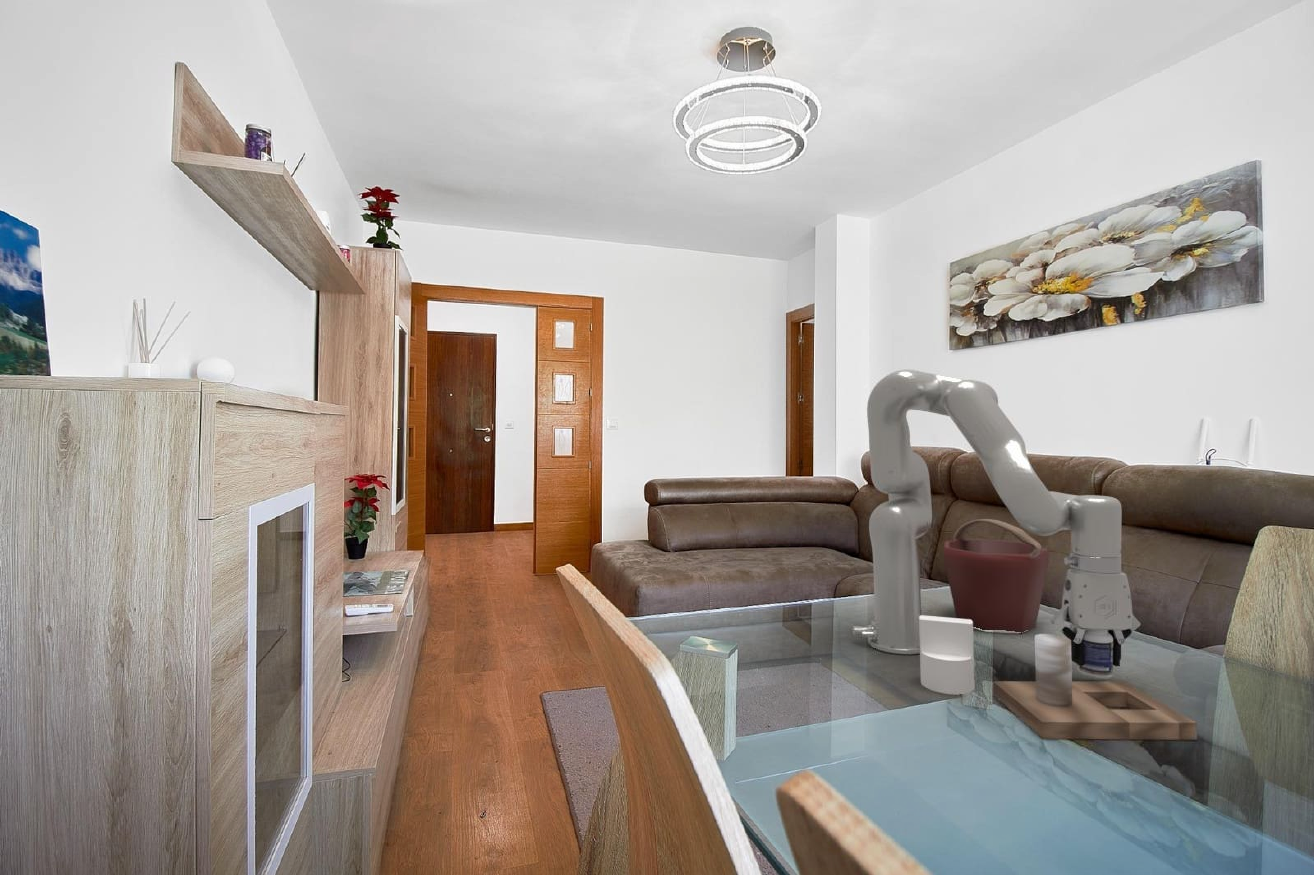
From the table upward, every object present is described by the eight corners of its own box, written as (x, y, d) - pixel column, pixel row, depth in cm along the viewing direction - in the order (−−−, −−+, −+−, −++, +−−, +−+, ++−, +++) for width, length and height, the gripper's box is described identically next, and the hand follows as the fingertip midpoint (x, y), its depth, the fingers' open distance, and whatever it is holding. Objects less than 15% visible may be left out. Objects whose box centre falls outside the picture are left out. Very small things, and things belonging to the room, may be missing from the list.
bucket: (1070, 639, 141) (1067, 526, 141) (970, 640, 141) (967, 528, 141) (1010, 609, 165) (1008, 513, 165) (925, 611, 166) (922, 514, 166)
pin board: (1042, 738, 96) (1040, 655, 96) (993, 695, 112) (991, 624, 112) (1196, 739, 94) (1194, 655, 94) (1124, 696, 110) (1122, 623, 110)
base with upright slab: (973, 679, 119) (972, 615, 119) (975, 697, 111) (973, 628, 111) (921, 673, 123) (920, 611, 123) (919, 690, 115) (917, 623, 115)
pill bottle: (1118, 680, 112) (1119, 625, 112) (1085, 678, 114) (1085, 623, 113) (1103, 669, 118) (1104, 616, 118) (1071, 667, 119) (1072, 615, 119)
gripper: (1058, 568, 112) (1057, 670, 112) (1160, 569, 111) (1159, 672, 111) (1035, 559, 120) (1035, 655, 120) (1130, 560, 119) (1130, 657, 119)
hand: (1094, 662), depth 116 cm, fingers closed on pill bottle, 5 cm apart
